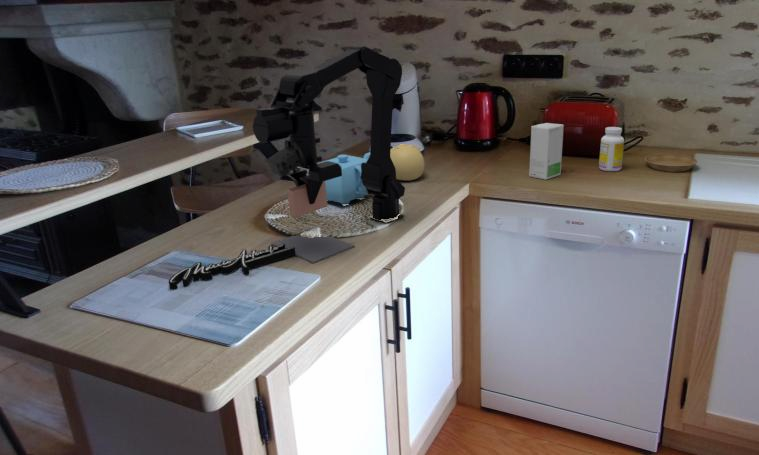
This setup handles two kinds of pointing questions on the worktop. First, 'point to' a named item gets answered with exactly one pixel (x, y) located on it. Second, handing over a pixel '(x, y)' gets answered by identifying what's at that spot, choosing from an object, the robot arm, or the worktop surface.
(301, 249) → the mat
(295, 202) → the card box
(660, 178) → the worktop surface
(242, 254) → the nameplate
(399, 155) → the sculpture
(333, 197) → the teapot
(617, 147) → the supplement bottle
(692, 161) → the plant saucer
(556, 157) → the skincare box
